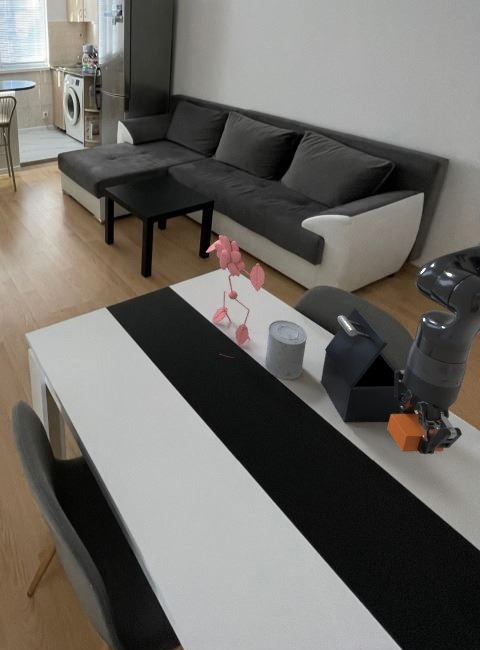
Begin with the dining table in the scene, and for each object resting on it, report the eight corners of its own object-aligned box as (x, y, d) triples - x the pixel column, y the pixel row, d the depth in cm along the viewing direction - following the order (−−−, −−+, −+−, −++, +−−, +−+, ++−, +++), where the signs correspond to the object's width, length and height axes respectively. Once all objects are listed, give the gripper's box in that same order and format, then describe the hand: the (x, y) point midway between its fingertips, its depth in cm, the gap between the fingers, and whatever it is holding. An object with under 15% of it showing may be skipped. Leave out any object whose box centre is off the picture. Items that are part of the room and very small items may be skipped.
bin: (372, 381, 115) (380, 350, 111) (402, 422, 103) (411, 388, 99) (320, 382, 116) (325, 351, 112) (344, 422, 104) (350, 389, 100)
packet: (425, 428, 82) (429, 413, 80) (442, 451, 77) (448, 435, 76) (386, 428, 82) (390, 413, 81) (402, 451, 78) (406, 436, 76)
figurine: (217, 305, 148) (221, 215, 136) (270, 356, 125) (282, 253, 113) (178, 317, 144) (179, 225, 131) (227, 372, 121) (233, 267, 108)
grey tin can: (261, 370, 121) (264, 336, 116) (269, 349, 128) (272, 316, 123) (298, 384, 115) (303, 349, 111) (304, 361, 123) (309, 327, 118)
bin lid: (357, 308, 106) (335, 301, 106) (387, 343, 95) (362, 335, 95) (327, 350, 112) (305, 343, 111) (352, 388, 100) (328, 381, 100)
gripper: (492, 403, 67) (465, 477, 73) (428, 338, 80) (409, 405, 86) (441, 404, 67) (419, 477, 73) (386, 339, 80) (371, 406, 87)
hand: (414, 438), depth 80 cm, fingers closed on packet, 4 cm apart
